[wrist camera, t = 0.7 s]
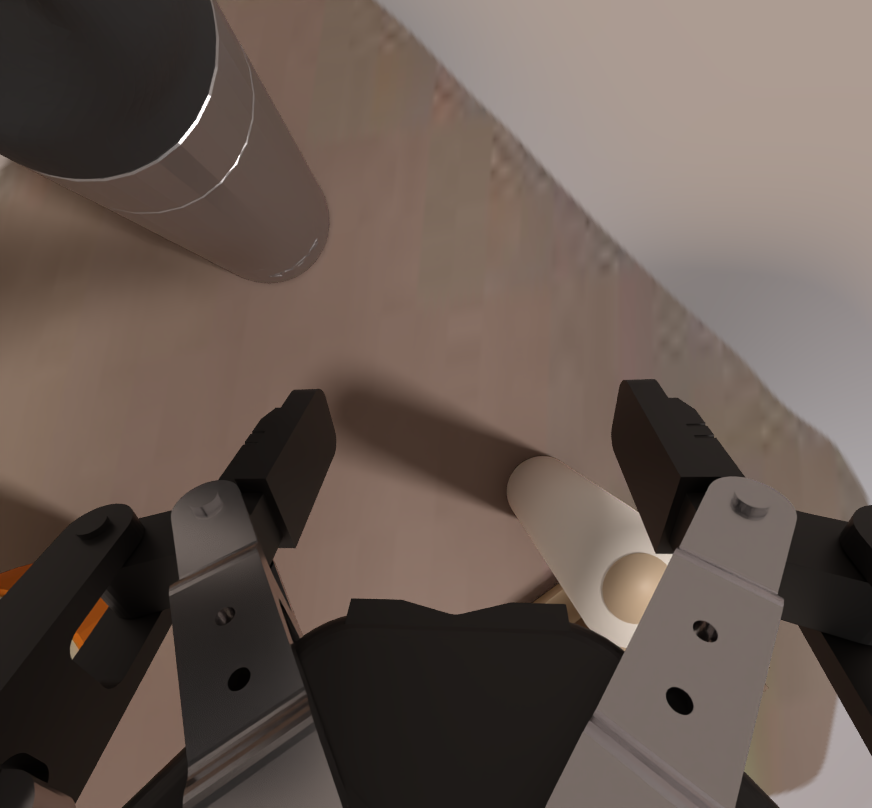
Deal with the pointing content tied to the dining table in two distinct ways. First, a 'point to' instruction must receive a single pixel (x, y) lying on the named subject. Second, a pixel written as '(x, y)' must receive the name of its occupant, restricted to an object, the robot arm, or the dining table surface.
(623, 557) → the paper towel roll
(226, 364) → the dining table surface
